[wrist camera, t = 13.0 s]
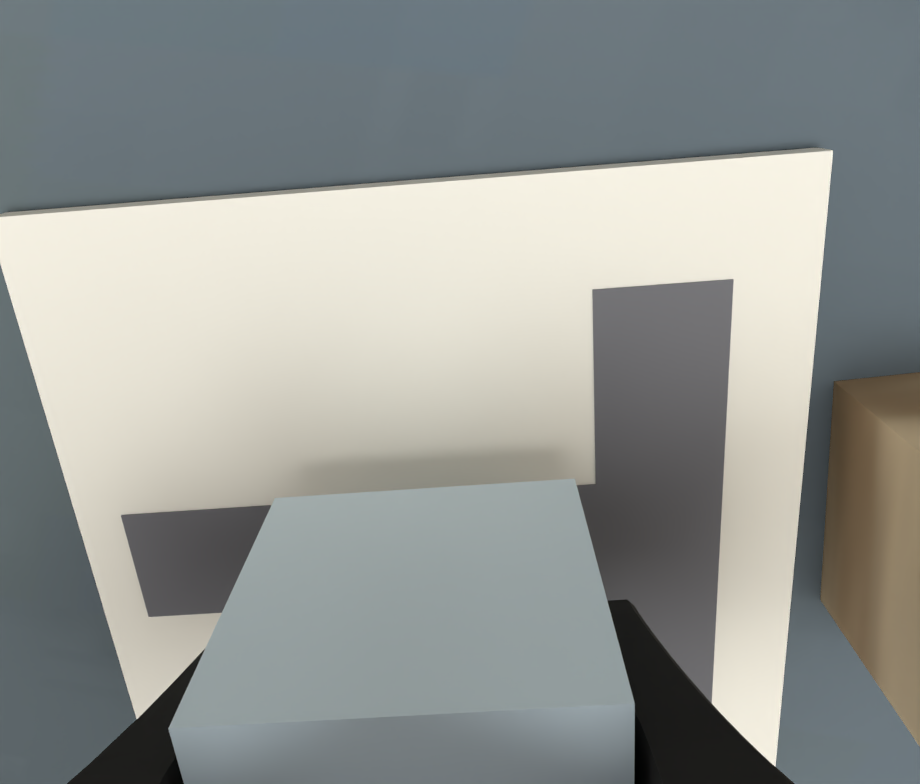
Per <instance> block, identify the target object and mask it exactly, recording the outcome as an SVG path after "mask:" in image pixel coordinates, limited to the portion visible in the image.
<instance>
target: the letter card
mask: <svg viewBox="0 0 920 784" xmlns="http://www.w3.org/2000/svg"><path fill="white" fill-rule="evenodd" d="M832 157H833V150H828V149H823V148H805V149H793V150H780V151H768V152H755V153H743V154H730V155H718V156H705V157H693V158H680V159H668V160H655V161H643V162H630V163H618V164H605V165H593V166H580V167H568V168H555V169H543V170H530V171H518V172H506V173H493V174H481V175H468V176H456V177H443V178H431V179H418V180H406V181H393V182H381V183H368V184H356V185H343V186H331V187H318V188H306V189H293V190H281V191H268V192H256V193H243V194H231V195H218V196H206V197H193V198H181V199H168V200H156V201H143V202H131V203H118V204H106V205H93V206H81V207H68V208H56V209H43V210H31V211H18V212H6V213H3V214H0V264H1V267H2V271H3V274H4V277H5V281H6V284H7V287H8V291H9V294H10V297H11V301H12V304H13V307H14V311H15V314H16V317H17V321H18V324H19V327H20V331H21V334H22V337H23V341H24V344H25V347H26V351H27V354H28V357H29V361H30V364H31V367H32V371H33V374H34V378H35V381H36V384H37V388H38V391H39V394H40V398H41V401H42V404H43V408H44V411H45V414H46V418H47V421H48V424H49V428H50V431H51V434H52V438H53V441H54V444H55V448H56V451H57V454H58V458H59V461H60V464H61V468H62V471H63V475H64V478H65V481H66V485H67V488H68V491H69V495H70V498H71V501H72V505H73V508H74V511H75V515H76V518H77V521H78V525H79V528H80V531H81V535H82V538H83V541H84V545H85V548H86V551H87V555H88V558H89V561H90V565H91V568H92V572H93V575H94V578H95V582H96V585H97V588H98V592H99V595H100V598H101V602H102V605H103V608H104V612H105V615H106V618H107V622H108V625H109V628H110V632H111V635H112V638H113V642H114V645H115V648H116V652H117V655H118V658H119V662H120V665H121V668H122V672H123V675H124V679H125V682H126V685H127V689H128V692H129V695H130V699H131V702H132V705H133V709H134V712H135V715H136V719H138V718H139V717H140V716H141V715H142V714H143V713H144V712H145V711H146V710H147V709H148V708H149V707H150V706H151V705H152V704H153V703H154V702H155V701H156V699H157V698H158V697H159V696H160V695H161V694H162V693H163V692H164V691H165V690H166V689H167V688H168V687H169V686H170V685H171V684H172V683H173V682H174V681H175V680H176V679H177V678H178V677H179V676H180V675H181V673H182V672H183V671H184V670H185V669H186V668H187V667H188V666H189V665H190V664H191V663H192V662H193V661H194V660H195V659H196V658H197V656H198V655H199V654H200V653H201V652H202V651H203V650H204V649H205V648H206V646H207V644H208V642H209V639H210V637H211V635H212V633H213V631H214V629H215V626H216V624H217V622H218V620H219V618H220V616H221V614H222V611H223V609H224V607H225V605H226V603H227V601H228V598H229V596H230V594H231V592H232V590H233V588H234V585H235V583H236V581H237V579H238V577H239V575H240V572H241V570H242V568H243V566H244V564H245V562H246V559H247V557H248V555H249V553H250V551H251V549H252V546H253V544H254V542H255V540H256V538H257V536H258V533H259V531H260V529H261V527H262V525H263V523H264V520H265V518H266V516H267V514H268V512H269V510H270V507H271V505H272V503H273V501H274V499H275V498H283V497H298V496H314V495H329V494H344V493H360V492H375V491H391V490H406V489H421V488H437V487H452V486H468V485H483V484H499V483H514V482H529V481H545V480H560V479H575V481H576V485H577V489H578V492H579V496H580V500H581V504H582V507H583V511H584V515H585V519H586V522H587V526H588V530H589V534H590V537H591V541H592V545H593V549H594V552H595V556H596V560H597V564H598V567H599V571H600V575H601V579H602V582H603V586H604V590H605V594H606V598H607V601H608V600H625V599H627V600H628V601H630V602H631V603H632V604H633V605H634V606H635V608H636V609H637V611H638V612H639V614H640V615H641V617H642V618H643V619H644V621H645V622H646V624H647V625H648V626H649V628H650V629H651V631H652V632H653V633H654V635H655V636H656V637H657V639H658V640H659V641H660V643H661V644H662V645H663V646H664V648H665V649H666V650H667V652H668V653H669V654H670V655H671V657H672V658H673V659H674V660H675V662H676V663H677V664H678V665H679V666H680V668H681V669H682V670H683V671H684V672H685V674H686V675H687V676H688V677H689V678H690V679H691V680H692V682H693V683H694V684H695V685H696V686H697V687H698V689H699V690H700V691H701V692H702V693H703V694H704V696H705V697H706V698H707V699H708V700H709V701H710V702H711V703H712V704H713V705H714V707H715V708H716V709H717V710H718V711H719V712H720V713H721V714H722V715H723V716H724V717H725V718H726V719H727V720H728V721H729V722H730V723H731V724H732V725H733V726H734V727H735V729H736V730H737V731H738V732H739V733H740V734H741V735H742V736H743V737H744V738H745V739H746V740H747V741H748V742H749V743H750V744H751V745H753V746H754V747H755V748H756V749H757V750H758V751H759V752H760V753H761V754H762V755H763V756H764V757H765V758H766V759H767V760H768V761H769V762H770V763H772V764H773V765H774V766H775V765H776V754H777V744H778V733H779V722H780V712H781V701H782V690H783V680H784V669H785V658H786V648H787V637H788V626H789V616H790V605H791V594H792V584H793V573H794V562H795V552H796V541H797V530H798V520H799V509H800V498H801V488H802V477H803V466H804V456H805V445H806V434H807V424H808V413H809V402H810V392H811V381H812V370H813V360H814V349H815V338H816V328H817V317H818V306H819V296H820V285H821V274H822V264H823V253H824V242H825V232H826V221H827V210H828V200H829V189H830V178H831V168H832Z"/></svg>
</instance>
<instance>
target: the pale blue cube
mask: <svg viewBox="0 0 920 784" xmlns="http://www.w3.org/2000/svg"><path fill="white" fill-rule="evenodd" d="M168 729H169V733H170V737H171V740H172V744H173V747H174V751H175V754H176V758H177V761H178V765H179V768H180V772H181V776H182V779H183V783H184V784H634V759H635V703H634V699H633V695H632V691H631V688H630V684H629V680H628V676H627V673H626V669H625V665H624V661H623V658H622V654H621V650H620V646H619V643H618V639H617V635H616V631H615V628H614V624H613V620H612V616H611V613H610V609H609V605H608V601H607V598H606V594H605V590H604V586H603V582H602V579H601V575H600V571H599V567H598V564H597V560H596V556H595V552H594V549H593V545H592V541H591V537H590V534H589V530H588V526H587V522H586V519H585V515H584V511H583V507H582V504H581V500H580V496H579V492H578V489H577V485H576V481H575V479H560V480H545V481H529V482H514V483H499V484H483V485H468V486H452V487H437V488H421V489H406V490H391V491H375V492H360V493H344V494H329V495H314V496H298V497H283V498H275V499H274V501H273V503H272V505H271V507H270V510H269V512H268V514H267V516H266V518H265V520H264V523H263V525H262V527H261V529H260V531H259V533H258V536H257V538H256V540H255V542H254V544H253V546H252V549H251V551H250V553H249V555H248V557H247V559H246V562H245V564H244V566H243V568H242V570H241V572H240V575H239V577H238V579H237V581H236V583H235V585H234V588H233V590H232V592H231V594H230V596H229V598H228V601H227V603H226V605H225V607H224V609H223V611H222V614H221V616H220V618H219V620H218V622H217V624H216V626H215V629H214V631H213V633H212V635H211V637H210V639H209V642H208V644H207V646H206V648H205V650H204V652H203V655H202V657H201V659H200V661H199V663H198V665H197V668H196V670H195V672H194V674H193V676H192V678H191V681H190V683H189V685H188V687H187V689H186V691H185V694H184V696H183V698H182V700H181V702H180V704H179V707H178V709H177V711H176V713H175V715H174V717H173V720H172V722H171V724H170V726H169V728H168Z"/></svg>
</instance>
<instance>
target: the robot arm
mask: <svg viewBox="0 0 920 784" xmlns="http://www.w3.org/2000/svg"><path fill="white" fill-rule="evenodd" d="M608 605H609V609H610V613H611V616H612V620H613V624H614V628H615V631H616V635H617V639H618V643H619V646H620V650H621V654H622V658H623V661H624V665H625V669H626V673H627V676H628V680H629V684H630V688H631V691H632V695H633V699H634V703H635V759H634V784H794V783H793V782H792V781H791V780H790V779H788V778H787V777H786V776H785V775H784V774H783V773H782V772H781V771H779V770H778V769H777V768H776V767H775V766H774V765H773V764H772V763H770V762H769V761H768V760H767V759H766V758H765V757H764V756H763V755H762V754H761V753H760V752H759V751H758V750H757V749H756V748H755V747H754V746H753V745H751V744H750V743H749V742H748V741H747V740H746V739H745V738H744V737H743V736H742V735H741V734H740V733H739V732H738V731H737V730H736V729H735V727H734V726H733V725H732V724H731V723H730V722H729V721H728V720H727V719H726V718H725V717H724V716H723V715H722V714H721V713H720V712H719V711H718V710H717V709H716V708H715V707H714V705H713V704H712V703H711V702H710V701H709V700H708V699H707V698H706V697H705V696H704V694H703V693H702V692H701V691H700V690H699V689H698V687H697V686H696V685H695V684H694V683H693V682H692V680H691V679H690V678H689V677H688V676H687V675H686V674H685V672H684V671H683V670H682V669H681V668H680V666H679V665H678V664H677V663H676V662H675V660H674V659H673V658H672V657H671V655H670V654H669V653H668V652H667V650H666V649H665V648H664V646H663V645H662V644H661V643H660V641H659V640H658V639H657V637H656V636H655V635H654V633H653V632H652V631H651V629H650V628H649V626H648V625H647V624H646V622H645V621H644V619H643V618H642V617H641V615H640V614H639V612H638V611H637V609H636V608H635V606H634V605H633V604H632V603H631V602H630V601H628V600H627V599H625V600H608ZM204 650H205V649H204ZM204 650H203V651H202V652H201V653H200V654H199V655H198V656H197V658H196V659H195V660H194V661H193V662H192V663H191V664H190V665H189V666H188V667H187V668H186V669H185V670H184V671H183V672H182V673H181V675H180V676H179V677H178V678H177V679H176V680H175V681H174V682H173V683H172V684H171V685H170V686H169V687H168V688H167V689H166V690H165V691H164V692H163V693H162V694H161V695H160V696H159V697H158V698H157V699H156V701H155V702H154V703H153V704H152V705H151V706H150V707H149V708H148V709H147V710H146V711H145V712H144V713H143V714H142V715H141V716H140V717H139V718H138V719H137V720H136V721H135V722H134V723H132V724H131V725H130V726H129V727H128V728H127V729H126V730H125V731H124V732H123V733H122V734H121V735H120V736H119V737H118V738H117V739H116V740H114V741H113V742H112V743H111V744H110V745H109V746H108V747H107V748H106V749H105V750H104V751H103V752H102V753H101V754H100V755H99V756H98V757H96V758H95V759H94V760H93V761H92V762H91V763H90V764H89V765H88V766H87V767H86V768H84V769H83V770H82V771H81V772H80V773H79V774H78V775H76V776H75V777H74V778H73V779H72V780H71V781H69V782H68V783H67V784H184V783H183V779H182V776H181V772H180V768H179V765H178V761H177V758H176V754H175V751H174V747H173V744H172V740H171V737H170V733H169V729H168V728H169V726H170V724H171V722H172V720H173V717H174V715H175V713H176V711H177V709H178V707H179V704H180V702H181V700H182V698H183V696H184V694H185V691H186V689H187V687H188V685H189V683H190V681H191V678H192V676H193V674H194V672H195V670H196V668H197V665H198V663H199V661H200V659H201V657H202V655H203V652H204Z"/></svg>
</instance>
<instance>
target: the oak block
mask: <svg viewBox="0 0 920 784" xmlns="http://www.w3.org/2000/svg"><path fill="white" fill-rule="evenodd" d="M820 600H821V602H822V603H823V604H824V606H825V607H826V609H827V610H828V612H829V613H830V615H831V616H832V618H833V619H834V621H835V622H836V624H837V625H838V627H839V628H840V630H841V631H842V633H843V634H844V635H845V637H846V638H847V640H848V641H849V643H850V644H851V646H852V647H853V649H854V650H855V652H856V653H857V655H858V656H859V658H860V659H861V661H862V662H863V664H864V665H865V666H866V668H867V669H868V671H869V672H870V674H871V675H872V677H873V678H874V680H875V681H876V683H877V684H878V686H879V687H880V689H881V690H882V692H883V693H884V695H885V696H886V697H887V699H888V700H889V702H890V703H891V705H892V706H893V708H894V709H895V711H896V712H897V714H898V715H899V717H900V718H901V720H902V721H903V723H904V724H905V726H906V727H907V729H908V730H909V731H910V733H911V734H912V736H913V737H914V739H915V740H916V742H917V743H918V745H919V746H920V372H918V373H909V374H899V375H890V376H880V377H871V378H861V379H852V380H842V381H834V389H833V405H832V421H831V437H830V453H829V469H828V485H827V501H826V518H825V534H824V550H823V566H822V582H821V598H820Z"/></svg>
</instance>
